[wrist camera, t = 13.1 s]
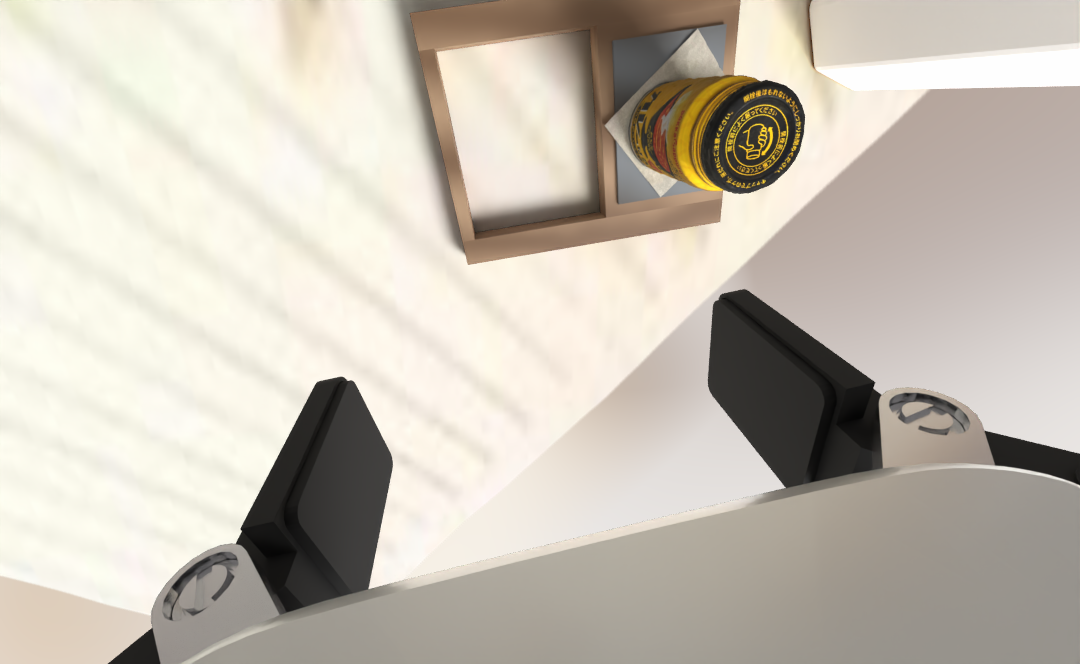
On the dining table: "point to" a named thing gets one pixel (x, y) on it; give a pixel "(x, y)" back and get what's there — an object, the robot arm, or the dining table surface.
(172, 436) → the dining table surface
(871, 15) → the cup
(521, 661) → the robot arm
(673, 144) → the condiment
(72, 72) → the dining table surface
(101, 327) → the dining table surface
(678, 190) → the pocket board
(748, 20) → the dining table surface
